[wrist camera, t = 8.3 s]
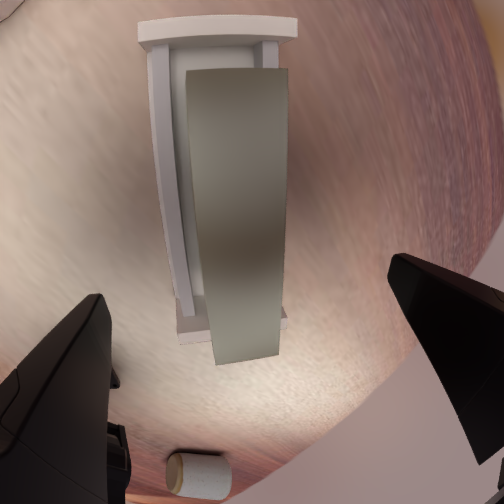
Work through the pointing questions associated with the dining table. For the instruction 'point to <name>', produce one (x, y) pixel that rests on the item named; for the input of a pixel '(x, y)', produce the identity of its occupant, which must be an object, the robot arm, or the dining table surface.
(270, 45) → the cabinet track
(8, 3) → the white cup
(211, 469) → the ceramic mug
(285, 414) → the dining table surface
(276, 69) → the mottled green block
